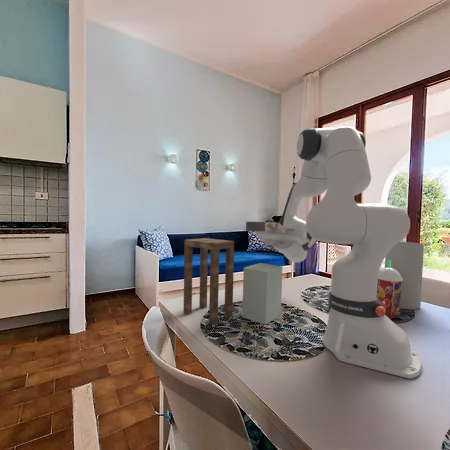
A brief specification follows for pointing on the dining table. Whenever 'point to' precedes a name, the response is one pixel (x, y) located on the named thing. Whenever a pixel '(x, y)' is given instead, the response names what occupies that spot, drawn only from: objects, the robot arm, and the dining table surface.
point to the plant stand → (214, 275)
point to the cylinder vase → (408, 271)
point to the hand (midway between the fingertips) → (272, 224)
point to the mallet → (260, 226)
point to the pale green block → (262, 292)
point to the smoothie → (390, 290)
